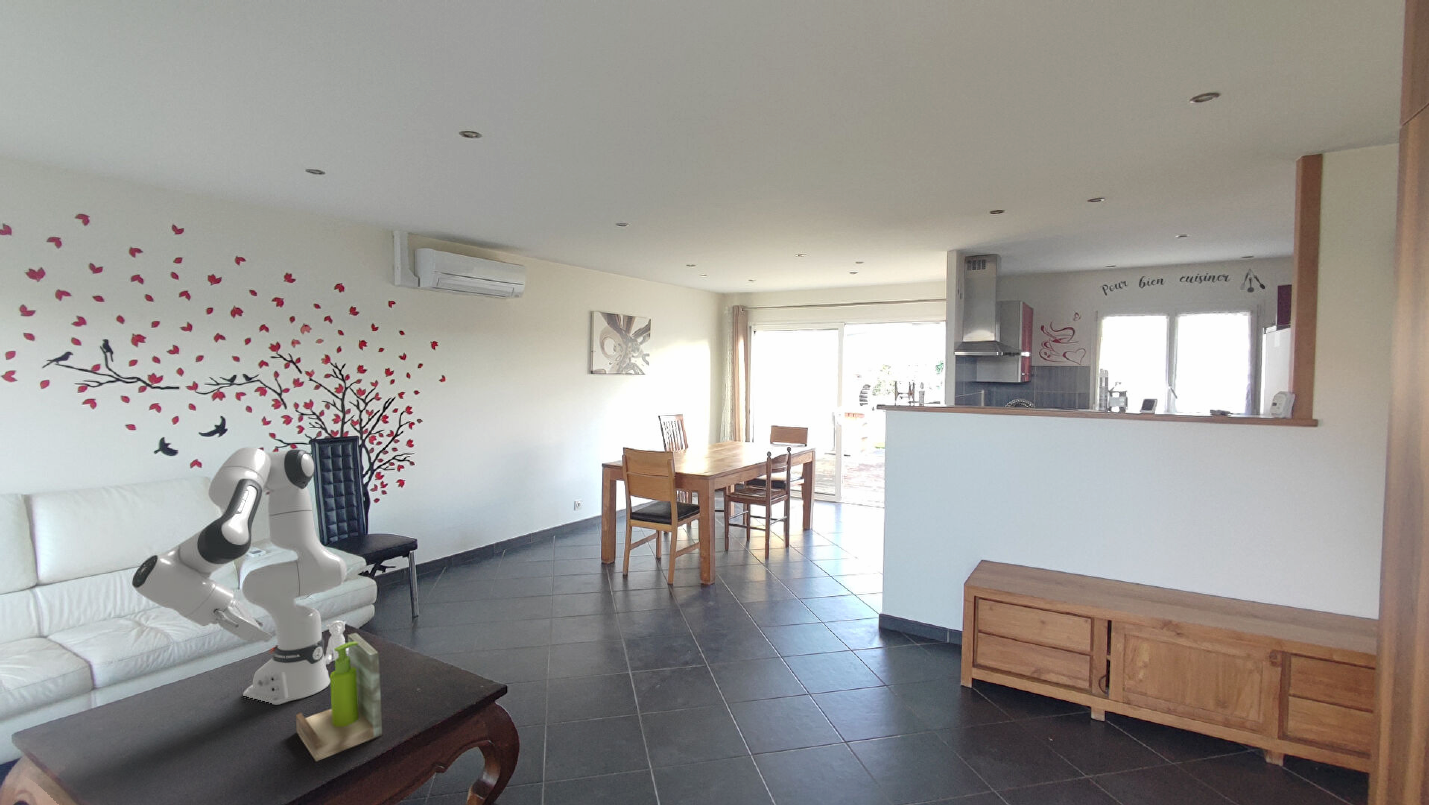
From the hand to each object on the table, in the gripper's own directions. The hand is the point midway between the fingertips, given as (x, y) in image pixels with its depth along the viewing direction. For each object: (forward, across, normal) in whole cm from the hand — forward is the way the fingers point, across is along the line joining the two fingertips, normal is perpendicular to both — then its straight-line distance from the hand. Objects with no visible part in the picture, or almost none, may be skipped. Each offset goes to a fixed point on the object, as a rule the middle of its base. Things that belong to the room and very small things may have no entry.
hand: (264, 632), depth 152 cm
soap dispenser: (+32, -2, +9) cm, 33 cm away
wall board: (+32, -2, +12) cm, 35 cm away
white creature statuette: (+42, +49, +3) cm, 65 cm away
